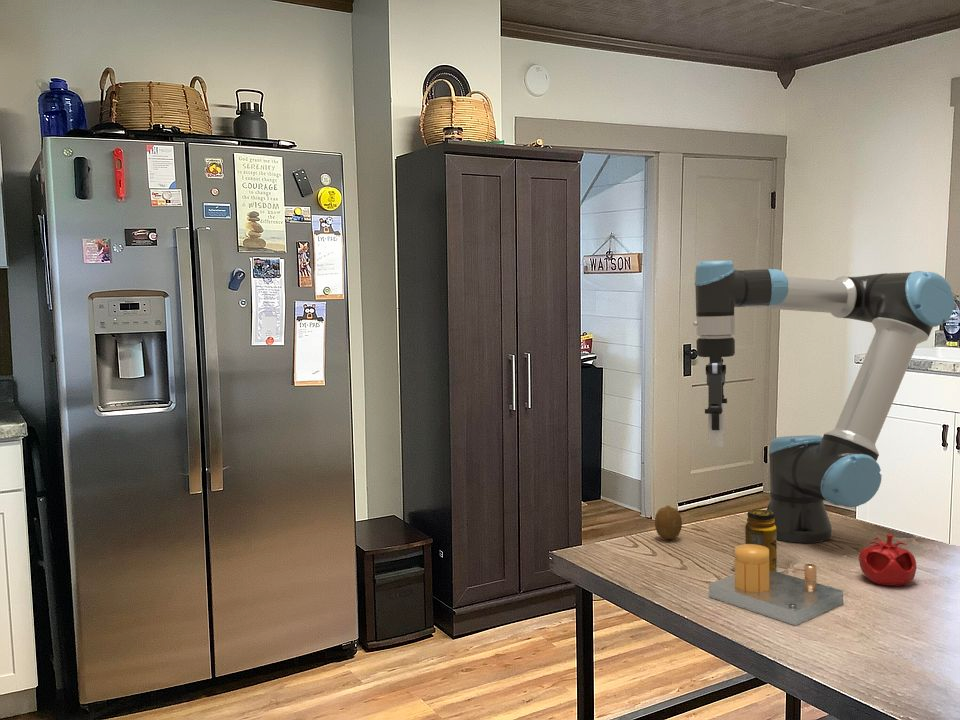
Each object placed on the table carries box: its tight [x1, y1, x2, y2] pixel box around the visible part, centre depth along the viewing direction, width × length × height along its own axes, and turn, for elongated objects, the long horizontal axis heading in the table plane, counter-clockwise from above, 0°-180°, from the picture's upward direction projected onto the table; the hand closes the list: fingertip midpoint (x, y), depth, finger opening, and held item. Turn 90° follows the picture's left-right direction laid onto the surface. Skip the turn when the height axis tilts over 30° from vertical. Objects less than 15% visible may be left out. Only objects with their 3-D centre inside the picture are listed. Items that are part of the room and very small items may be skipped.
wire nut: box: [734, 543, 770, 592], centre depth 151 cm, size 6×6×7 cm
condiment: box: [729, 509, 786, 573], centre depth 167 cm, size 7×8×12 cm
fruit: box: [654, 505, 683, 541], centre depth 190 cm, size 6×6×8 cm
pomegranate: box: [858, 533, 917, 587], centre depth 159 cm, size 10×10×9 cm
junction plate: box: [708, 563, 844, 626], centre depth 151 cm, size 15×18×7 cm
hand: (717, 440), depth 169 cm, fingers open, 13 cm apart
